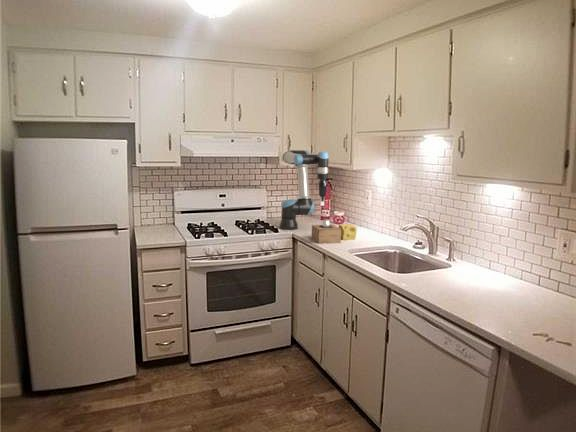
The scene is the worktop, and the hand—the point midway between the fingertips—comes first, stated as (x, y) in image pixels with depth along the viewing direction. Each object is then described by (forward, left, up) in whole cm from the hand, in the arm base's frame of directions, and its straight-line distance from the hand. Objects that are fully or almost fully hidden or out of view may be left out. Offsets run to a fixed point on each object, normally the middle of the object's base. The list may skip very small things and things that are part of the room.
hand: (322, 205), depth 312 cm
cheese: (+6, +18, -24) cm, 31 cm away
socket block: (+11, 0, -24) cm, 26 cm away
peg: (+11, 0, -19) cm, 22 cm away
